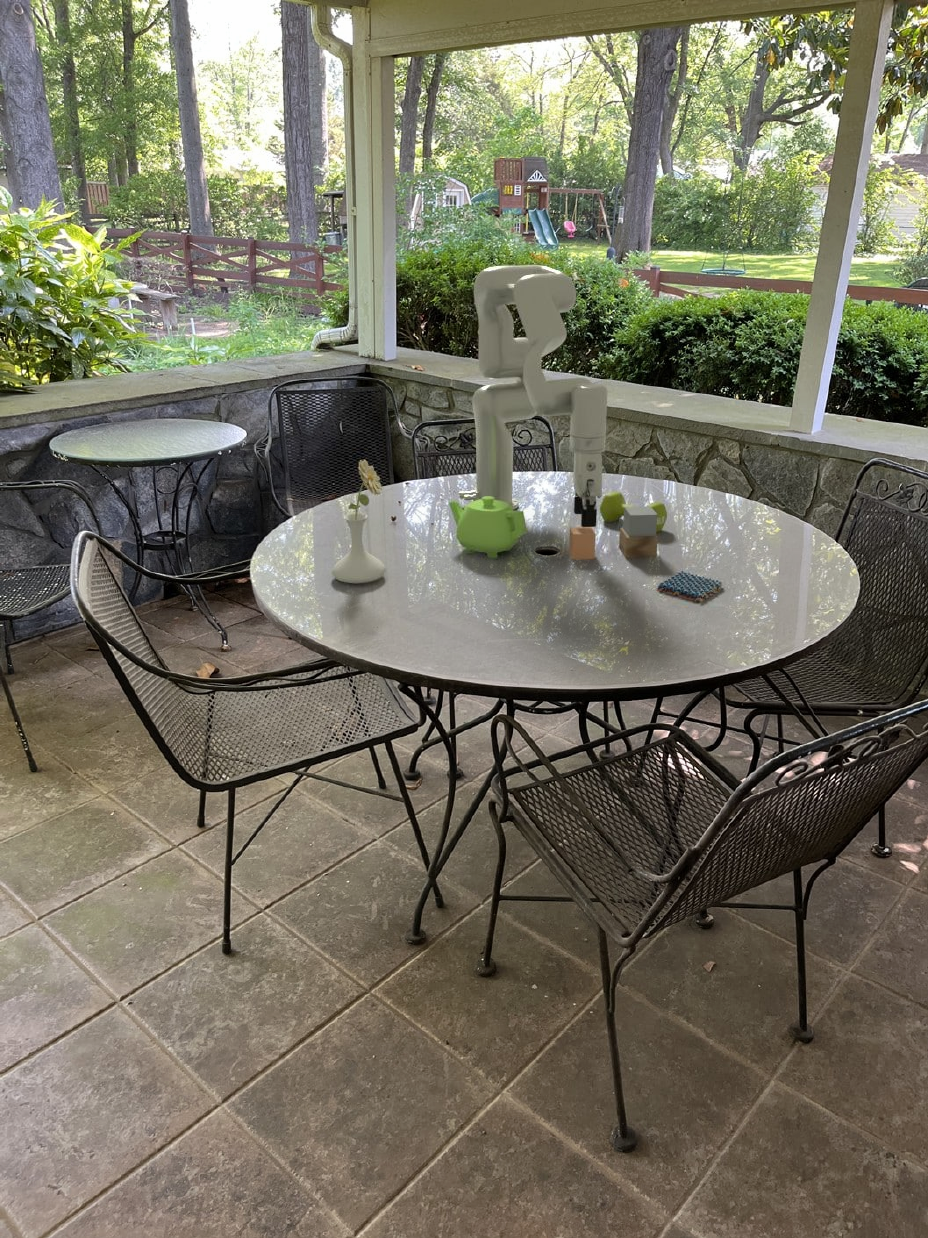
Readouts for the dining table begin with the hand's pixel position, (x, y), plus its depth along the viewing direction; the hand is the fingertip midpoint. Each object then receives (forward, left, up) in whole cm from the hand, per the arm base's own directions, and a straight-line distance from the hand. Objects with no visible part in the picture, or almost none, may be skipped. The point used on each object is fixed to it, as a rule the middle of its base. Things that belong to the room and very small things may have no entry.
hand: (584, 520), depth 193 cm
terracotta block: (0, +1, -9) cm, 9 cm away
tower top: (+13, +2, -4) cm, 13 cm away
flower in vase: (-49, -9, -9) cm, 51 cm away
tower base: (+13, +2, -9) cm, 15 cm away
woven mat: (+19, -20, -9) cm, 29 cm away
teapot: (-21, +6, -9) cm, 24 cm away
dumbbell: (+16, +20, -9) cm, 27 cm away
